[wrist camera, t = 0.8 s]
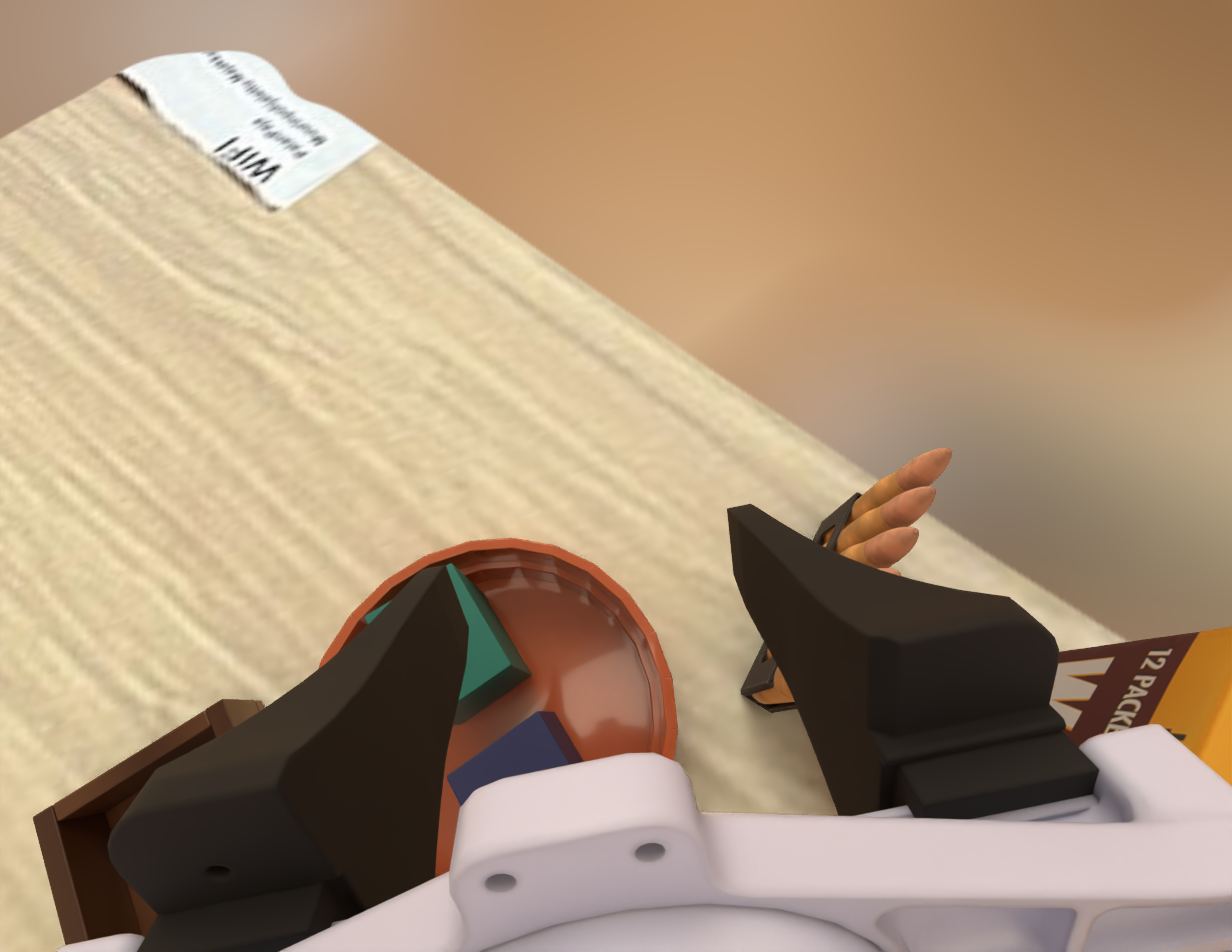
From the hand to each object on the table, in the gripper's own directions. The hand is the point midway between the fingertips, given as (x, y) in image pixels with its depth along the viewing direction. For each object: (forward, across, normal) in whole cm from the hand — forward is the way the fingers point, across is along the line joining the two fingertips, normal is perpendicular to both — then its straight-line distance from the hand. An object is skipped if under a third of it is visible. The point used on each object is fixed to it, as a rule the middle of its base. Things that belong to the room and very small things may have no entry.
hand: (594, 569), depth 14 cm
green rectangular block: (+11, +8, +11) cm, 17 cm away
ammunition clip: (+11, -9, +13) cm, 20 cm away
